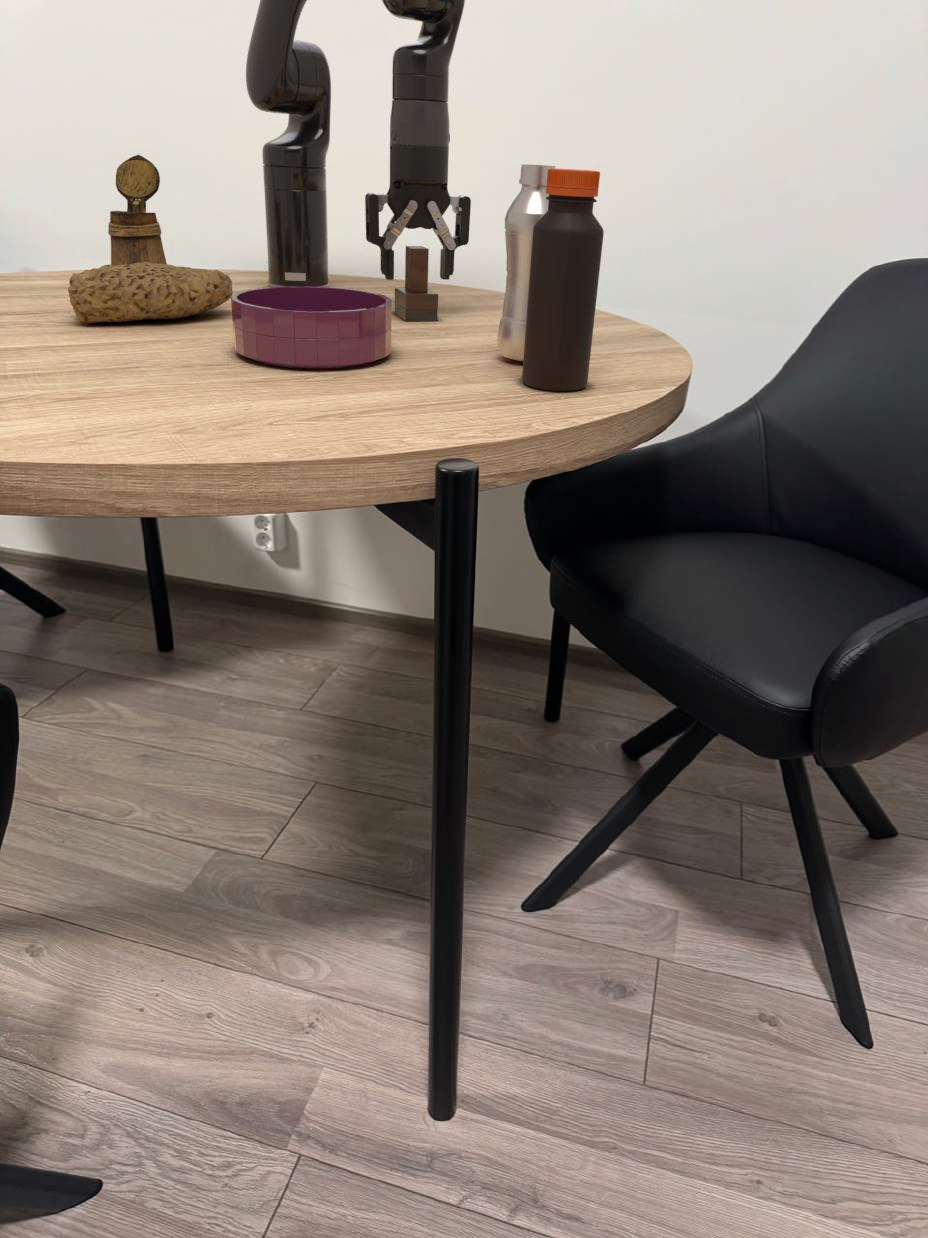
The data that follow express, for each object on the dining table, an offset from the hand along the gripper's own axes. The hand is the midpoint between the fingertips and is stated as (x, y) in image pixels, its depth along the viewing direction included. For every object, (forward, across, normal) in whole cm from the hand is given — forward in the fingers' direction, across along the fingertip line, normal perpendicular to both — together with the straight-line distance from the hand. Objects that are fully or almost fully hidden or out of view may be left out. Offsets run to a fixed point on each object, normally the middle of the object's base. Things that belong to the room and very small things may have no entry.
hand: (417, 278), depth 123 cm
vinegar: (+5, -4, +39) cm, 39 cm away
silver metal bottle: (+5, -5, +28) cm, 29 cm away
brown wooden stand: (+5, +35, -20) cm, 41 cm away
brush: (+5, 0, 0) cm, 5 cm away
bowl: (+5, +18, +22) cm, 29 cm away
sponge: (+5, +34, -1) cm, 35 cm away
